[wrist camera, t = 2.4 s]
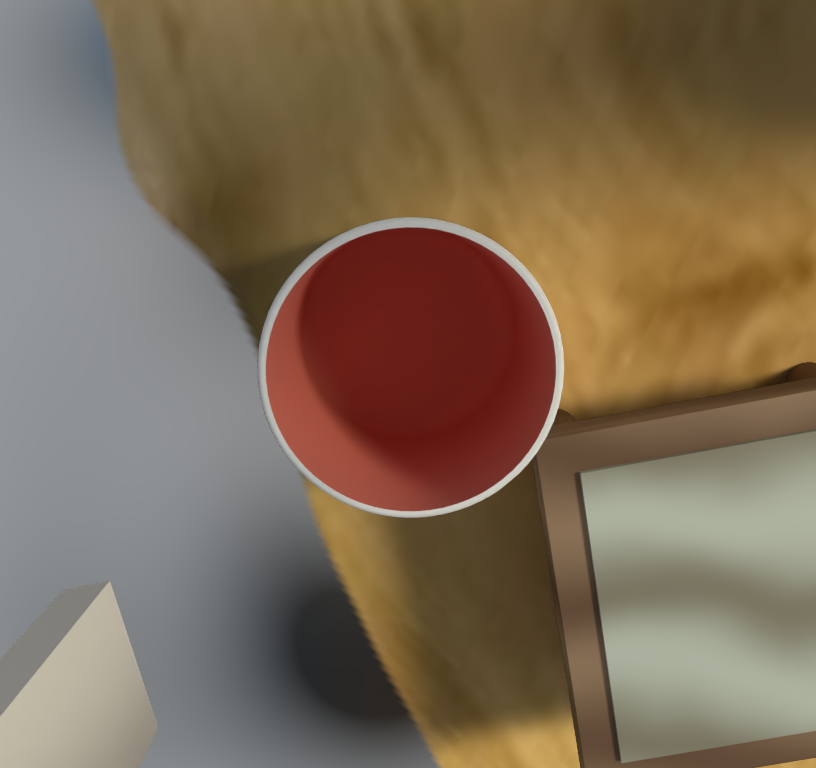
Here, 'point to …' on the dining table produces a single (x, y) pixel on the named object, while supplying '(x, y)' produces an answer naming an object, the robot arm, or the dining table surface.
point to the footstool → (687, 577)
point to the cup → (410, 367)
